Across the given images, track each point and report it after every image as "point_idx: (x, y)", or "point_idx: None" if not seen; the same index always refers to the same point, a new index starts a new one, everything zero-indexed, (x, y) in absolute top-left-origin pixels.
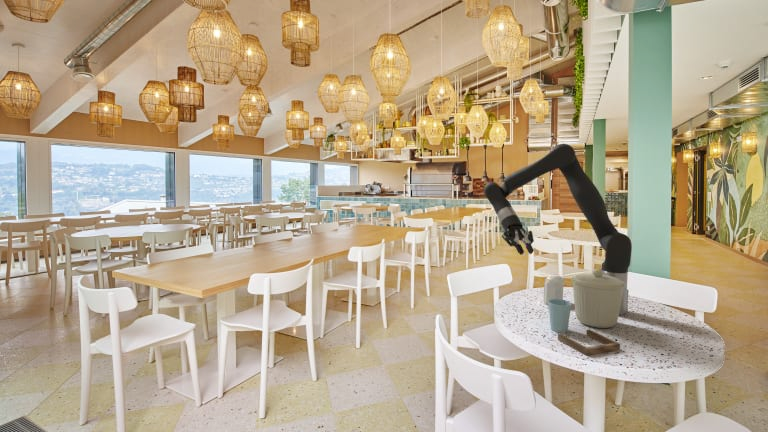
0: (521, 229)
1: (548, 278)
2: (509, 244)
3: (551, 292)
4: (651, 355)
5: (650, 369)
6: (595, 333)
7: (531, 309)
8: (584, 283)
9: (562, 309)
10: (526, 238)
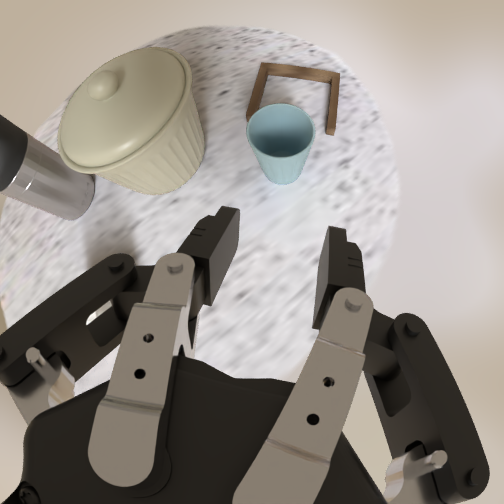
0: (95, 466)
1: (91, 318)
2: (401, 375)
3: None
4: (238, 48)
5: (287, 33)
6: (255, 99)
7: (216, 309)
8: (182, 83)
9: (299, 115)
10: (166, 306)
